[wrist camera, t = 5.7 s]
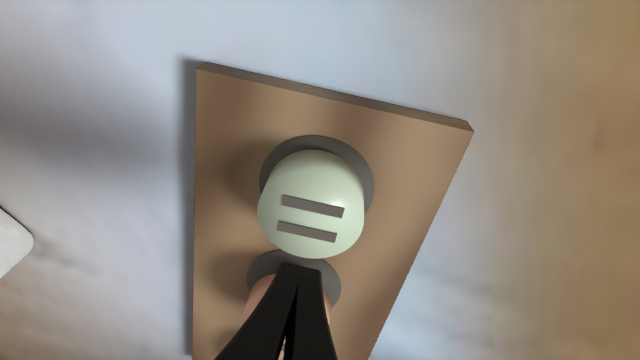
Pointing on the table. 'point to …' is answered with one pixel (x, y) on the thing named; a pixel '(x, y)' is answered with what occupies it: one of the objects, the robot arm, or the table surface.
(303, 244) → the sage button
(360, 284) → the console
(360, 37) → the table surface
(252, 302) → the terracotta button
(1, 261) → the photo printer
